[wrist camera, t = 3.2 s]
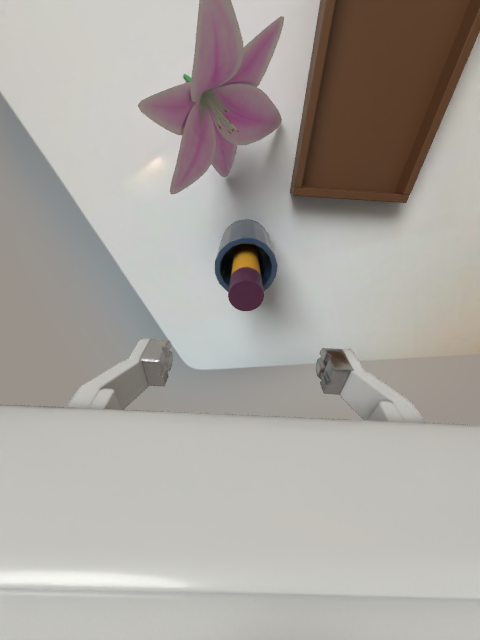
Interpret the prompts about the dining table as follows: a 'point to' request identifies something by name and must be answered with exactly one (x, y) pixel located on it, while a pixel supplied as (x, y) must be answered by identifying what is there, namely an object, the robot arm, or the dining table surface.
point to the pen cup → (247, 235)
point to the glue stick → (246, 278)
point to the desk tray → (378, 94)
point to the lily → (218, 95)
